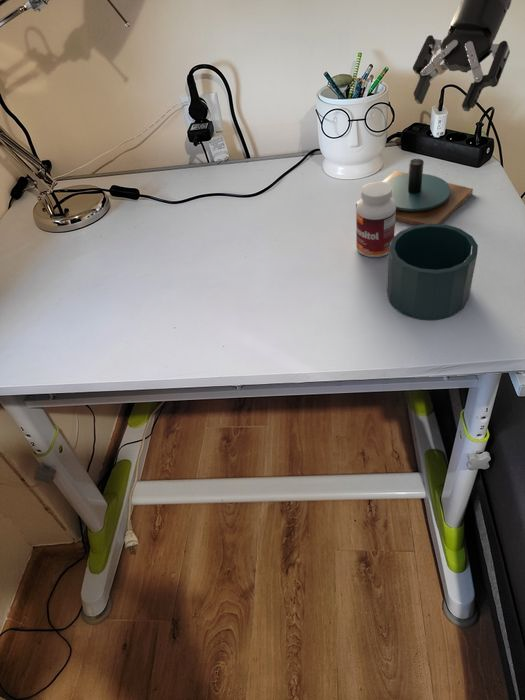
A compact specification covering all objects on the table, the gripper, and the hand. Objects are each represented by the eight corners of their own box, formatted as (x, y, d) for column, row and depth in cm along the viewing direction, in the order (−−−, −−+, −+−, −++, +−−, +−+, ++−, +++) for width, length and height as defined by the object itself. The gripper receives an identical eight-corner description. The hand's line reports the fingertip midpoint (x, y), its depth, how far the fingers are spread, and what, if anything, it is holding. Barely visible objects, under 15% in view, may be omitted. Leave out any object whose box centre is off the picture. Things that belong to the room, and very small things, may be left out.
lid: (462, 188, 93) (467, 153, 88) (427, 221, 87) (431, 186, 83) (401, 173, 100) (403, 140, 95) (365, 203, 94) (365, 169, 90)
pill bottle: (348, 250, 87) (347, 191, 79) (371, 233, 89) (372, 174, 81) (378, 263, 83) (379, 203, 75) (401, 245, 85) (405, 185, 78)
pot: (482, 285, 76) (492, 237, 70) (443, 331, 71) (451, 283, 65) (412, 261, 82) (416, 215, 76) (372, 301, 77) (373, 255, 71)
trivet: (472, 193, 93) (473, 188, 93) (434, 231, 87) (434, 226, 86) (395, 174, 102) (395, 170, 101) (355, 207, 95) (355, 203, 95)
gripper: (436, -11, 83) (395, 89, 86) (525, -9, 75) (477, 100, 78) (448, 17, 89) (410, 109, 92) (531, 21, 81) (486, 122, 84)
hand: (440, 105), depth 85 cm, fingers open, 8 cm apart
